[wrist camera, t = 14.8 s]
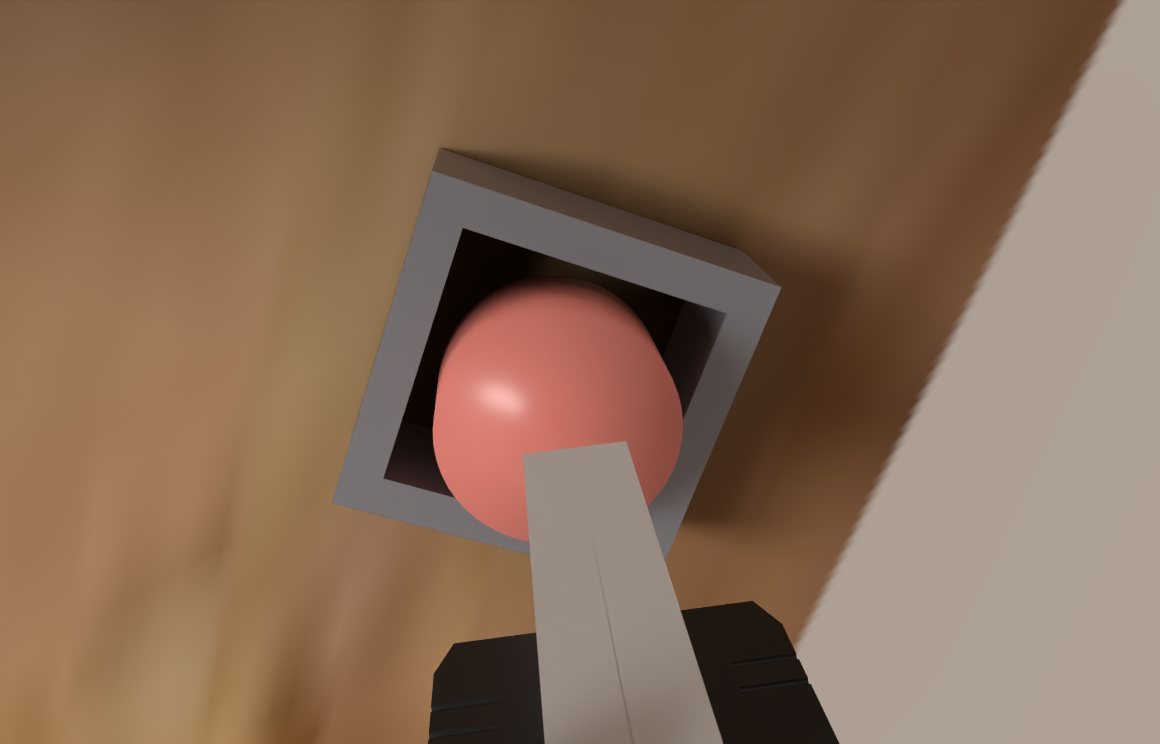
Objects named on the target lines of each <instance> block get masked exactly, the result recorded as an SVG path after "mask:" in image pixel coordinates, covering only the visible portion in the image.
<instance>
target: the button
mask: <svg viewBox="0 0 1160 744" xmlns="http://www.w3.org/2000/svg"><path fill="white" fill-rule="evenodd" d="M682 433H683V417H682V408H681V403H680V399H679V395H678V392H677V389H676V387H675V384H674V382H673V379H672V377H671V375H670V373H669V371H668V369H667V367H666V365H665V363H664V361H663V359H662V357H661V355H660V354H659V352H658V350H657V348H656V346H655V344H654V342H653V340H652V338H651V336H650V334H649V332H648V330H647V329H646V327H645V325H644V323H643V322H642V321H641V319H640V318H639V317H638V315H637V314H636V313H635V312H634V311H633V310H632V309H631V308H630V307H629V306H628V305H627V304H626V303H625V302H624V301H623V300H621V299H620V298H618V297H617V296H616V295H614V294H613V293H611V292H609V291H608V290H606V289H604V288H602V287H600V286H598V285H595V284H593V283H590V282H588V281H584V280H580V279H576V278H571V277H562V276H541V277H533V278H527V279H523V280H520V281H516V282H513V283H510V284H508V285H506V286H503V287H501V288H499V289H497V290H495V291H493V292H492V293H490V294H488V295H487V296H485V297H484V298H483V299H481V300H480V301H479V302H477V303H476V304H475V305H474V306H473V307H472V308H471V309H470V310H469V311H468V312H467V313H466V314H465V315H464V316H463V317H462V319H461V320H460V321H459V323H458V324H457V325H456V327H455V328H454V330H453V332H452V334H451V335H450V337H449V339H448V342H447V344H446V347H445V349H444V352H443V356H442V360H441V364H440V370H439V379H438V387H437V396H436V404H435V413H434V422H433V445H434V450H435V456H436V460H437V463H438V466H439V469H440V472H441V475H442V476H443V478H444V480H445V482H446V484H447V486H448V488H449V489H450V491H451V492H452V494H453V495H454V497H455V498H456V499H457V500H458V502H459V503H460V504H461V505H462V506H463V507H464V508H465V509H466V510H467V511H468V512H469V513H470V514H472V515H473V516H474V517H475V518H476V519H478V520H479V521H480V522H482V523H484V524H485V525H487V526H488V527H490V528H492V529H494V530H496V531H498V532H500V533H502V534H504V535H507V536H510V537H513V538H516V539H519V540H524V541H529V531H528V518H527V505H526V492H525V479H524V466H523V454H527V453H535V452H544V451H552V450H560V449H568V448H576V447H584V446H592V445H600V444H608V443H616V442H624V441H626V442H627V445H628V449H629V452H630V455H631V458H632V461H633V464H634V467H635V470H636V473H637V477H638V480H639V483H640V486H641V489H642V492H643V495H644V498H645V502H646V505H647V506H649V505H650V503H651V502H652V501H653V500H654V499H655V498H656V497H657V495H658V494H659V493H660V492H661V490H662V489H663V487H664V486H665V484H666V483H667V481H668V479H669V477H670V475H671V473H672V471H673V469H674V467H675V464H676V461H677V458H678V455H679V452H680V447H681V442H682Z"/></svg>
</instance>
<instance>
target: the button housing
mask: <svg viewBox="0 0 1160 744" xmlns="http://www.w3.org/2000/svg"><path fill="white" fill-rule="evenodd" d="M463 228H465V229H468V230H471V231H474V232H477V233H480V234H483V235H487V236H490V237H493V238H496V239H499V240H502V241H505V242H508V243H511V244H514V245H517V246H520V247H524V248H527V249H530V250H533V251H536V252H539V253H542V254H545V255H548V256H551V257H554V258H557V259H560V260H564V261H567V262H570V263H573V264H576V265H579V266H582V267H585V268H588V269H591V270H594V271H597V272H601V273H604V274H607V275H610V276H613V277H616V278H619V279H622V280H625V281H628V282H631V283H634V284H637V285H641V286H644V287H647V288H650V289H653V290H656V291H659V292H662V293H665V294H668V295H671V296H674V297H678V298H681V299H684V300H685V301H684V304H683V307H682V309H681V312H680V314H679V317H678V319H677V322H676V324H675V327H674V329H673V332H672V334H671V337H670V339H669V342H668V344H667V347H666V349H665V352H664V354H663V357H662V359H663V361H664V363H665V365H666V367H667V369H668V371H669V373H670V375H671V377H672V379H673V382H674V384H675V387H676V389H677V392H678V395H679V399H680V403H681V408H682V417H683V433H682V442H681V447H680V452H679V455H678V458H677V461H676V464H675V467H674V469H673V471H672V473H671V475H670V477H669V479H668V481H667V483H666V484H665V486H664V487H663V489H662V490H661V492H660V493H659V494H658V495H657V497H656V498H655V499H654V500H653V501H652V502H651V503H650V505H649V506H647V508H648V511H649V514H650V517H651V520H652V523H653V526H654V530H655V533H656V536H657V539H658V542H659V545H660V548H661V551H662V554H663V558H664V561H665V560H666V557H667V555H668V553H669V550H670V548H671V546H672V543H673V541H674V539H675V536H676V534H677V532H678V529H679V527H680V525H681V522H682V520H683V518H684V515H685V513H686V510H687V508H688V506H689V503H690V501H691V499H692V496H693V494H694V492H695V489H696V487H697V485H698V482H699V480H700V478H701V475H702V473H703V471H704V468H705V466H706V464H707V461H708V459H709V457H710V454H711V452H712V449H713V447H714V445H715V442H716V440H717V438H718V435H719V433H720V431H721V428H722V426H723V424H724V421H725V419H726V417H727V414H728V412H729V410H730V407H731V405H732V403H733V400H734V398H735V395H736V393H737V391H738V388H739V386H740V384H741V381H742V379H743V377H744V374H745V372H746V370H747V367H748V365H749V363H750V360H751V358H752V356H753V353H754V351H755V349H756V346H757V344H758V342H759V339H760V337H761V334H762V332H763V330H764V327H765V325H766V323H767V320H768V318H769V316H770V313H771V311H772V309H773V306H774V304H775V302H776V299H777V297H778V295H779V292H780V290H781V288H782V287H781V286H780V285H779V284H778V283H776V282H775V281H774V280H773V279H772V278H771V277H770V276H769V275H768V274H767V273H766V272H765V271H764V270H763V269H762V268H761V267H760V266H758V265H757V264H756V263H755V262H754V261H753V260H752V259H751V258H750V257H749V256H748V255H747V254H746V253H745V252H744V251H742V250H739V249H736V248H733V247H730V246H727V245H724V244H721V243H718V242H716V241H713V240H710V239H707V238H704V237H701V236H698V235H695V234H692V233H689V232H686V231H683V230H680V229H677V228H674V227H671V226H668V225H665V224H662V223H660V222H657V221H654V220H651V219H648V218H645V217H642V216H639V215H636V214H633V213H630V212H627V211H624V210H621V209H618V208H615V207H612V206H609V205H606V204H604V203H601V202H598V201H595V200H592V199H589V198H586V197H583V196H580V195H577V194H574V193H571V192H568V191H565V190H562V189H559V188H556V187H553V186H550V185H548V184H545V183H542V182H539V181H536V180H533V179H530V178H527V177H524V176H521V175H518V174H515V173H512V172H509V171H506V170H503V169H500V168H497V167H494V166H492V165H489V164H486V163H483V162H480V161H477V160H474V159H471V158H468V157H465V156H462V155H459V154H456V153H453V152H450V151H447V150H444V149H441V148H439V151H438V154H437V158H436V161H435V164H434V167H433V171H432V174H431V177H430V181H429V184H428V187H427V191H426V194H425V197H424V200H423V204H422V207H421V210H420V214H419V217H418V220H417V224H416V227H415V230H414V233H413V237H412V240H411V243H410V247H409V250H408V253H407V257H406V260H405V263H404V267H403V270H402V273H401V276H400V280H399V283H398V286H397V290H396V293H395V296H394V300H393V303H392V306H391V310H390V313H389V316H388V319H387V323H386V326H385V329H384V333H383V336H382V339H381V343H380V346H379V349H378V353H377V356H376V359H375V362H374V366H373V369H372V372H371V376H370V379H369V382H368V386H367V389H366V392H365V396H364V399H363V402H362V405H361V409H360V412H359V415H358V419H357V422H356V425H355V429H354V432H353V435H352V438H351V442H350V445H349V448H348V452H347V455H346V458H345V462H344V465H343V468H342V472H341V475H340V478H339V481H338V485H337V488H336V491H335V495H334V498H333V501H332V503H333V504H337V505H341V506H345V507H349V508H352V509H356V510H360V511H364V512H368V513H371V514H375V515H379V516H383V517H387V518H391V519H394V520H398V521H402V522H406V523H410V524H413V525H417V526H421V527H425V528H429V529H433V530H436V531H440V532H444V533H448V534H452V535H456V536H459V537H463V538H467V539H471V540H475V541H478V542H482V543H486V544H490V545H494V546H498V547H501V548H505V549H509V550H513V551H517V552H520V553H524V554H528V555H530V544H529V541H524V540H519V539H516V538H513V537H510V536H507V535H504V534H502V533H500V532H498V531H496V530H494V529H492V528H490V527H488V526H487V525H485V524H484V523H482V522H480V521H479V520H478V519H476V518H475V517H474V516H473V515H472V514H470V513H469V512H468V511H467V510H466V509H465V508H464V507H463V506H462V505H461V504H460V503H459V502H458V500H457V499H456V498H455V497H454V495H453V494H452V492H451V491H450V489H449V488H448V486H447V484H446V482H445V480H444V478H443V476H442V475H441V472H440V469H439V466H438V463H437V460H436V456H435V450H434V445H433V429H430V428H426V427H423V426H419V425H416V424H412V423H409V422H405V421H402V418H403V415H404V411H405V408H406V405H407V402H408V399H409V396H410V393H411V389H412V386H413V383H414V380H415V377H416V374H417V370H418V367H419V364H420V361H421V358H422V355H423V352H424V348H425V345H426V342H427V339H428V336H429V333H430V330H431V326H432V323H433V320H434V317H435V314H436V311H437V307H438V304H439V301H440V298H441V295H442V292H443V289H444V285H445V282H446V279H447V276H448V273H449V270H450V267H451V263H452V260H453V257H454V254H455V251H456V248H457V245H458V241H459V238H460V235H461V232H462V229H463Z"/></svg>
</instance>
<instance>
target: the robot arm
mask: <svg viewBox="0 0 1160 744" xmlns="http://www.w3.org/2000/svg"><path fill="white" fill-rule="evenodd" d="M523 466H524V479H525V492H526V505H527V518H528V531H529V544H530V557H531V570H532V583H533V596H534V609H535V622H536V633H530V634H522V635H515V636H507V637H500V638H492V639H485V640H477V641H470V642H462V643H455V644H453V646H452V647H451V649H450V650H449V652H448V653H447V655H446V656H445V658H444V659H443V661H442V662H441V664H440V665H439V667H438V668H437V670H436V671H435V673H434V678H433V691H432V703H431V708H432V712H431V715H430V727H429V740H428V744H839V742H838V740H837V738H836V736H835V733H834V731H833V729H832V727H831V725H830V723H829V721H828V719H827V717H826V715H825V713H824V711H823V709H822V706H821V704H820V702H819V700H818V698H817V696H816V694H815V692H814V690H813V688H812V686H811V684H809V682H808V677H807V675H806V673H805V671H804V669H803V667H802V665H801V663H800V660H799V659H797V657H796V652H795V650H794V648H793V646H792V644H791V642H790V640H789V638H788V635H787V633H786V631H785V629H784V627H783V625H782V624H781V623H780V622H779V621H778V620H776V619H775V618H774V617H772V616H771V615H770V614H769V613H767V612H766V611H765V610H763V609H762V608H761V607H760V606H758V605H757V604H756V603H754V602H753V601H748V602H741V603H733V604H726V605H718V606H711V607H703V608H695V609H688V610H680V607H679V604H678V601H677V598H676V595H675V592H674V589H673V586H672V583H671V579H670V576H669V573H668V570H667V567H666V564H665V561H664V558H663V554H662V551H661V548H660V545H659V542H658V539H657V536H656V533H655V530H654V526H653V523H652V520H651V517H650V514H649V511H648V508H647V505H646V502H645V498H644V495H643V492H642V489H641V486H640V483H639V480H638V477H637V473H636V470H635V467H634V464H633V461H632V458H631V455H630V452H629V449H628V445H627V442H626V441H624V442H616V443H608V444H600V445H592V446H584V447H576V448H568V449H560V450H552V451H544V452H535V453H527V454H523Z"/></svg>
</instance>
